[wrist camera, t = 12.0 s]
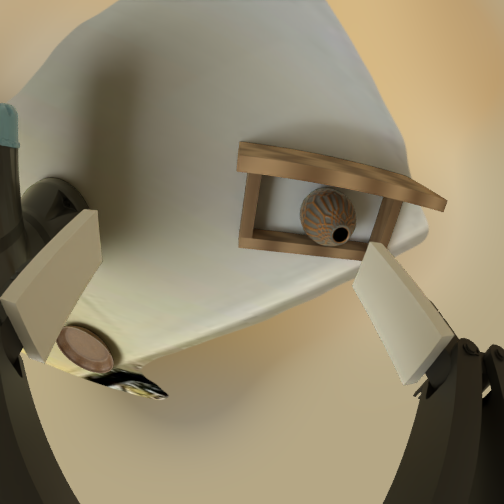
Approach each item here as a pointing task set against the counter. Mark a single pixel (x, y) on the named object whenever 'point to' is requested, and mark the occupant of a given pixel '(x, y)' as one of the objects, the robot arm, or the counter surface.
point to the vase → (328, 217)
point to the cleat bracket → (329, 173)
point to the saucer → (85, 349)
